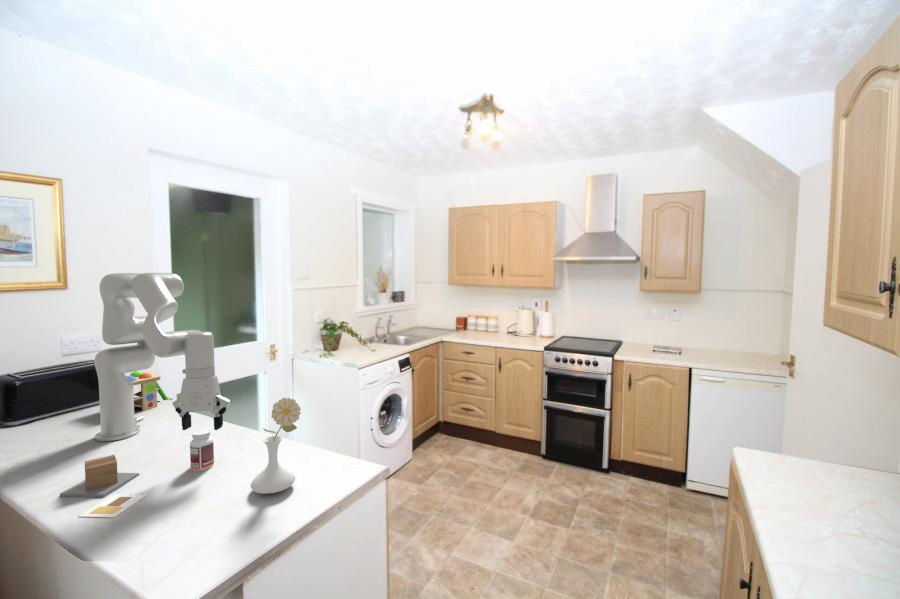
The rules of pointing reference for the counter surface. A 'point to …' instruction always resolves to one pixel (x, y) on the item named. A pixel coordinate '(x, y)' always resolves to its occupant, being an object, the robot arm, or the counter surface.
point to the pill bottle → (201, 450)
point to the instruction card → (112, 506)
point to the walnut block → (101, 472)
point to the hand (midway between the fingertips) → (202, 428)
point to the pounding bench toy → (146, 390)
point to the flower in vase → (274, 474)
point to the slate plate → (81, 490)
